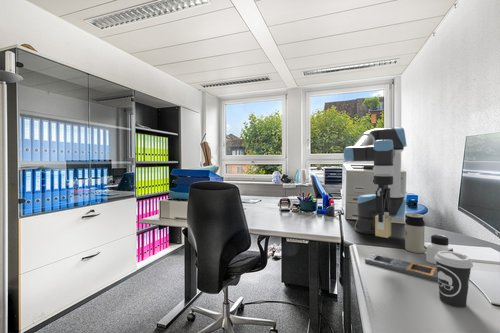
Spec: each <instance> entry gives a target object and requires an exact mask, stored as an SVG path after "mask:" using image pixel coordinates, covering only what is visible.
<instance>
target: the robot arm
mask: <svg viewBox="0 0 500 333" xmlns="http://www.w3.org/2000/svg"><path fill="white" fill-rule="evenodd" d="M406 147H407V139H406V132H405V129H404V128H403V127H400V126H399V127H398V126H393V127H382V128H373V129H370V130H369V129H368V130H367V131H365V132H363V133H361V134H360V135H359V137H358V138H357V141H356V142H355V143H354V145H353V146H351V145H350V146H345V147H344V149H343V159H344V161H345V162H350V163H351V162H353V163H354V162H373V167H372V170H373V175H374V176H373V184H374V185H378V186H377V189H376V190H375V192H374V193H373V194H371V193H370V194H362V195H358V197H357V220H356V222H355V225H354V231H355V232H358V233H360V234H366V235H375V216H377V215H378V229H380V230H385V215H387V216H391V218H394V219H396V218H399V219H402V218H404V217H405V211H406V205H407V198H404V197H405V196H404V194H403V193H401V191H402V190H401V188H402V187H401V180H402V179H401V178H402V176H401V171H402V170H401V164H402V163H401V162H402V160H401V157H402V156H401V155H402V154H401V153H402V152H403V151H404V150H405V149H404V148H406Z"/></svg>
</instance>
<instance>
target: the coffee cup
mask: <svg viewBox="0 0 500 333" xmlns="http://www.w3.org/2000/svg"><path fill="white" fill-rule="evenodd" d="M434 259H435V260H436V264H437V265H436V264H435V265H436V269H437V274H438V282H437V284H438V294H439V300H440V301H441V302H442V303H443V304H446V305H448V306H450V307H453V308H465V307H466V306H467V300H468V293H469V284H470V277H471V269H473V267H474V265H473V262H472V260H471V258H470V257H469V256H468V255H466V254H463V253H460V252H456V251H453V252H451V251H439V252H437V254H436V255H435V257H434Z"/></svg>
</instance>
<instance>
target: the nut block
mask: <svg viewBox="0 0 500 333" xmlns="http://www.w3.org/2000/svg"><path fill="white" fill-rule="evenodd" d="M374 235H375V237H379V238H380V237H381V238H385V239H386V238H387V239H389V238H390V237H391V236H392V217H391V216H387V215H385V230H380V229H378V215H377V216H375V234H374Z"/></svg>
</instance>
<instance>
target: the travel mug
mask: <svg viewBox="0 0 500 333" xmlns="http://www.w3.org/2000/svg"><path fill="white" fill-rule="evenodd" d="M405 215H406V218H405V221H404V223H405V224H404V225H405V227H404V228H405V230H404V231H405V234H404V235H405V237H404V238H405V239H404V247H405V250H406V251H408V252H411V253H414V254H422V253H425V220H424V217H425V215H423V214H420V213H410V212H409V213H406V214H405Z"/></svg>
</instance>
